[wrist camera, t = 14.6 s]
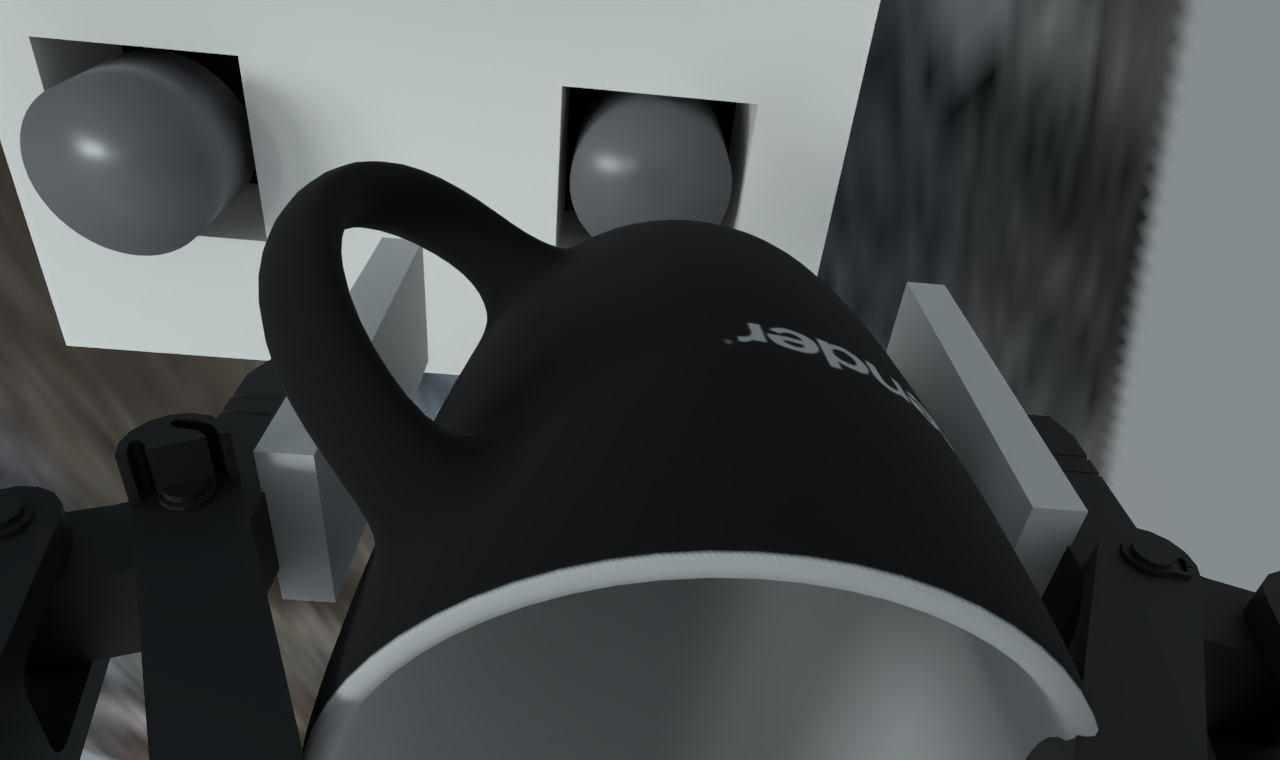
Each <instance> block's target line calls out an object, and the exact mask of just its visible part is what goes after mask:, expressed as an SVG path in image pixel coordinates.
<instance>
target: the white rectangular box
mask: <svg viewBox="0 0 1280 760" xmlns="http://www.w3.org/2000/svg"><path fill="white" fill-rule="evenodd" d="M880 1H881V0H0V141H1V144H2V147H3V150H4V153H5V156H6V160H7V163H8V166H9V169H10V172H11V175H12V178H13V181H14V184H15V187H16V190H17V194H18V197H19V200H20V203H21V206H22V209H23V212H24V215H25V218H26V221H27V225H28V228H29V231H30V234H31V237H32V240H33V243H34V246H35V249H36V252H37V255H38V259H39V262H40V265H41V268H42V271H43V274H44V277H45V280H46V283H47V286H48V290H49V293H50V296H51V299H52V302H53V305H54V308H55V311H56V314H57V317H58V320H59V324H60V327H61V330H62V333H63V336H64V339H65V342H66V345H67V346H79V347H92V348H105V349H119V350H132V351H145V352H159V353H172V354H185V355H199V356H212V357H226V358H239V359H252V360H266V361H269V360H270V359H271V357H270V354H269V350H268V347H267V344H266V341H265V335H264V330H263V324H262V318H261V313H260V307H259V284H258V275H259V269H260V264H261V258H262V253H263V250H264V247H265V244H266V241H267V238H268V236H269V234H270V231H271V229H272V227H273V224H274V222H275V220H276V218H277V217H278V216H279V214H280V213H281V212H282V210H283V209H284V208H285V206H286V205H287V204H288V203H289V201H290V200H291V199H292V198H293V197H294V195H295V194H296V193H297V192H298V191H299V190H300V189H302V188H303V187H304V186H306V185H307V184H308V183H310V182H311V181H313V180H314V179H316V178H317V177H319V176H320V175H322V174H323V173H325V172H327V171H329V170H332V169H335V168H338V167H340V166H344V165H347V164H350V163H354V162H364V161H382V162H390V163H397V164H403V165H407V166H410V167H414V168H417V169H420V170H423V171H425V172H428V173H430V174H432V175H435V176H437V177H440V178H442V179H443V180H445V181H447V182H449V183H451V184H453V185H455V186H457V187H458V188H460V189H462V190H464V191H465V192H467V193H468V194H470V195H472V196H473V197H475V198H476V199H478V200H479V201H481V202H482V203H484V204H485V205H487V206H488V207H490V208H491V209H492V210H494V211H495V212H497V213H498V214H500V215H501V216H502V217H504V218H505V219H507V220H508V221H509V222H511V223H512V224H514V225H515V226H517V227H518V228H520V229H521V230H523V231H524V232H526V233H528V234H530V235H531V236H533V237H535V238H537V239H539V240H541V241H543V242H545V243H548V244H550V245H553V246H556V247H559V248H570V247H572V246H575V245H577V244H578V243H580V242H583V241H585V240H587V239H589V238H591V237H592V236H591V235H590V234H589V233H588V232H587V230H586V229H585V228H584V227H583V225H582V223H581V222H580V220H579V219H578V216H577V214H576V212H575V211H569V210H565V189H566V167H567V146H568V124H569V103H570V87H578V88H588V89H599V90H610V91H621V92H631V93H642V94H653V95H663V96H674V97H685V98H696V99H706V100H717V101H728V102H737V103H736V110H735V116H734V123H733V129H732V136H731V142H730V149H729V155H728V158H729V162H730V167H731V172H732V191H731V197H730V201H729V205H728V208H727V210H726V213H725V215H724V217H723V219H722V221H721V222H720V224H719V225H723V226H727V227H731V228H734V229H737V230H740V231H743V232H746V233H749V234H751V235H754V236H756V237H758V238H761V239H763V240H765V241H767V242H769V243H770V244H772V245H774V246H776V247H778V248H779V249H781V250H783V251H785V252H786V253H788V254H789V255H791V256H792V257H793V258H795V259H796V260H798V261H799V262H801V263H802V264H803V265H804V266H805V267H807V268H808V269H809V270H810V271H811V272H813V273H814V274H815V275H816V276H817V275H818V270H819V266H820V262H821V257H822V253H823V249H824V244H825V240H826V236H827V231H828V227H829V223H830V218H831V214H832V210H833V205H834V201H835V196H836V192H837V188H838V183H839V179H840V175H841V170H842V166H843V162H844V157H845V153H846V149H847V144H848V140H849V136H850V131H851V127H852V122H853V118H854V114H855V109H856V105H857V101H858V96H859V92H860V88H861V83H862V79H863V75H864V70H865V66H866V61H867V57H868V53H869V48H870V44H871V40H872V35H873V31H874V27H875V22H876V18H877V14H878V9H879V5H880ZM121 45H127V46H138V47H149V48H160V49H170V50H181V51H192V52H203V53H213V54H224V55H235V56H238V60H239V66H240V72H241V78H242V85H243V91H244V97H245V103H246V110H247V116H248V122H249V128H250V135H251V141H252V147H253V154H254V160H255V166H256V172H257V179H258V184H253V183H248V185H247V187H246V188H245V189H244V190H243V192H242V193H241V194H240V195H239V196H238V197H237V198H236V199H235V200H234V201H233V202H232V203H231V204H230V205H229V206H227V207H226V208H225V209H224V210H223V211H222V212H221V213H220V214H219V215H218V216H217V217H216V218H215V219H214V220H213V221H212V222H211V223H210V224H209V225H208V226H207V227H206V228H205V229H204V230H203V231H202V232H201V233H200V234H199V235H198V236H197V237H196V238H195V239H193V240H192V241H191V242H190V243H189V244H187V245H185V246H184V247H182V248H180V249H178V250H175V251H173V252H170V253H166V254H162V255H153V256H138V255H131V254H125V253H121V252H117V251H114V250H111V249H108V248H105V247H102V246H100V245H98V244H96V243H94V242H92V241H90V240H88V239H86V238H85V237H83V236H81V235H80V234H78V233H77V232H75V231H74V230H72V229H71V228H70V227H68V226H67V225H66V224H65V223H64V222H62V221H61V220H60V219H59V218H58V217H57V216H56V215H55V214H54V213H53V212H52V211H51V210H50V209H49V208H48V206H47V205H46V204H45V203H44V201H43V200H42V199H41V198H40V196H39V195H38V193H37V192H36V190H35V189H34V187H33V185H32V183H31V181H30V179H29V177H28V175H27V172H26V170H25V167H24V164H23V160H22V156H21V149H20V130H21V125H22V121H23V118H24V116H25V113H26V111H27V110H28V108H29V106H30V105H31V103H32V102H33V101H34V100H35V99H36V98H37V97H38V96H39V95H40V94H41V93H43V92H44V91H46V90H47V89H49V88H51V87H53V86H55V85H57V84H59V83H61V82H63V81H66V80H68V79H70V78H72V77H74V76H76V75H78V74H80V73H82V72H84V71H86V70H88V69H90V68H93V67H95V66H97V65H99V64H101V63H103V62H105V61H107V60H109V59H111V58H113V57H116V56H118V55H120V54H122V53H123V51H122V47H121ZM382 237H386V238H397V239H403V238H400V237H398V236H395V235H392V234H389V233H385V232H382V231H379V230H373V229H367V228H349V229H345V230H344V233H343V237H342V261H343V269H344V272H345V276H346V280H347V284H348V288H349V292H350V290H351V288H352V287H353V285H354V283H355V282H356V280H357V278H358V277H359V275H360V273H361V272H362V270H363V268H364V267H365V265H366V264H367V262H368V260H369V259H370V257H371V255H372V254H373V252H374V250H375V249H376V247H377V245H378V244H379V242H380V240H381V239H382ZM423 262H424V282H425V301H426V321H427V341H428V360H429V361H428V363H427V366H426V369H425V371H424V372H426V373H439V374H453V375H460V374H461V372H462V370H463V368H464V367H465V365H466V363H467V362H468V360H469V358H470V357H471V355H472V353H473V352H474V350H475V349H476V347H477V345H478V343H479V342H480V340H481V338H482V336H483V333H484V331H485V327H486V323H487V312H486V309H485V305H484V303H483V300H482V298H481V296H480V294H479V293H478V291H477V290H476V288H475V287H474V286H473V284H472V283H471V282H470V281H469V280H468V279H467V278H466V277H465V276H464V275H463V274H462V273H461V272H460V271H458V270H457V269H456V268H454V267H453V266H452V265H450V264H449V263H448V262H446V261H445V260H443V259H441V258H440V257H438V256H437V255H435V254H433V253H432V252H430V251H428V250H426V249H424V248H423Z"/></svg>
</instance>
